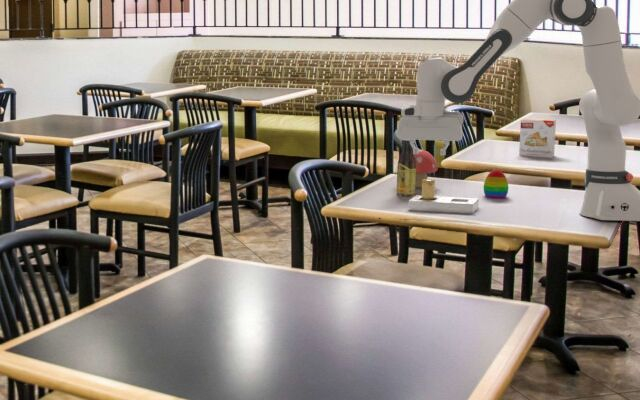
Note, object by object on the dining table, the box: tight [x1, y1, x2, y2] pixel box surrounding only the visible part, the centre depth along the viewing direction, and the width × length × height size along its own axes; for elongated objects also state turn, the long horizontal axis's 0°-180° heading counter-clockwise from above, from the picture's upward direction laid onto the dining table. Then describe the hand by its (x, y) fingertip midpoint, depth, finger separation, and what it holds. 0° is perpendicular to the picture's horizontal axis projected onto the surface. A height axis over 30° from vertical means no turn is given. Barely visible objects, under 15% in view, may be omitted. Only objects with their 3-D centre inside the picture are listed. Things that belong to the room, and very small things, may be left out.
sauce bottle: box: [396, 139, 416, 197], centre depth 312 cm, size 7×6×20 cm
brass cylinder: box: [421, 178, 436, 200], centre depth 293 cm, size 4×4×9 cm
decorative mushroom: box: [413, 149, 438, 189], centre depth 327 cm, size 13×13×15 cm
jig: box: [408, 194, 479, 215], centre depth 292 cm, size 20×12×3 cm, turn 73°
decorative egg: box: [483, 169, 509, 200], centre depth 312 cm, size 8×8×10 cm
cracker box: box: [518, 118, 557, 159], centre depth 396 cm, size 14×6×21 cm, turn 67°
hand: (429, 154), depth 291 cm, fingers open, 7 cm apart
